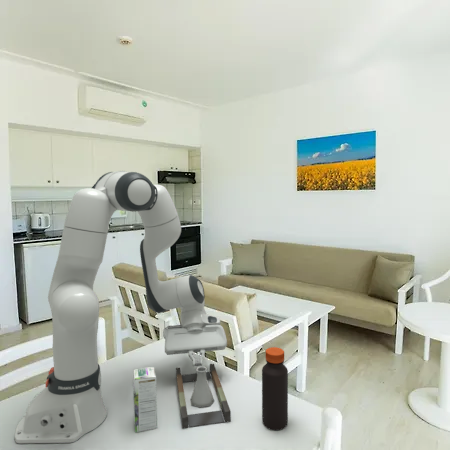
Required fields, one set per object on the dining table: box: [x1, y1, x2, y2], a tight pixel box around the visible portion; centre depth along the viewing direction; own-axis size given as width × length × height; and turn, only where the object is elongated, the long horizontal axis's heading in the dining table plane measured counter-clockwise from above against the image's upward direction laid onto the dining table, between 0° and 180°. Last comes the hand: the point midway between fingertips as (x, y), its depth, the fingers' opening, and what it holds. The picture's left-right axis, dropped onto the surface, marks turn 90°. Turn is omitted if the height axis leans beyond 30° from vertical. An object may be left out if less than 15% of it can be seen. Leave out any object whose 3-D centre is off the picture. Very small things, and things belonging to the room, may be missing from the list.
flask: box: [190, 365, 215, 408], centre depth 105 cm, size 7×7×10 cm
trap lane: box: [175, 363, 232, 429], centre depth 107 cm, size 13×27×3 cm, turn 11°
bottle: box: [261, 346, 289, 431], centre depth 94 cm, size 7×7×20 cm
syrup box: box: [133, 366, 158, 433], centre depth 95 cm, size 6×6×14 cm
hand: (197, 365), depth 111 cm, fingers closed
